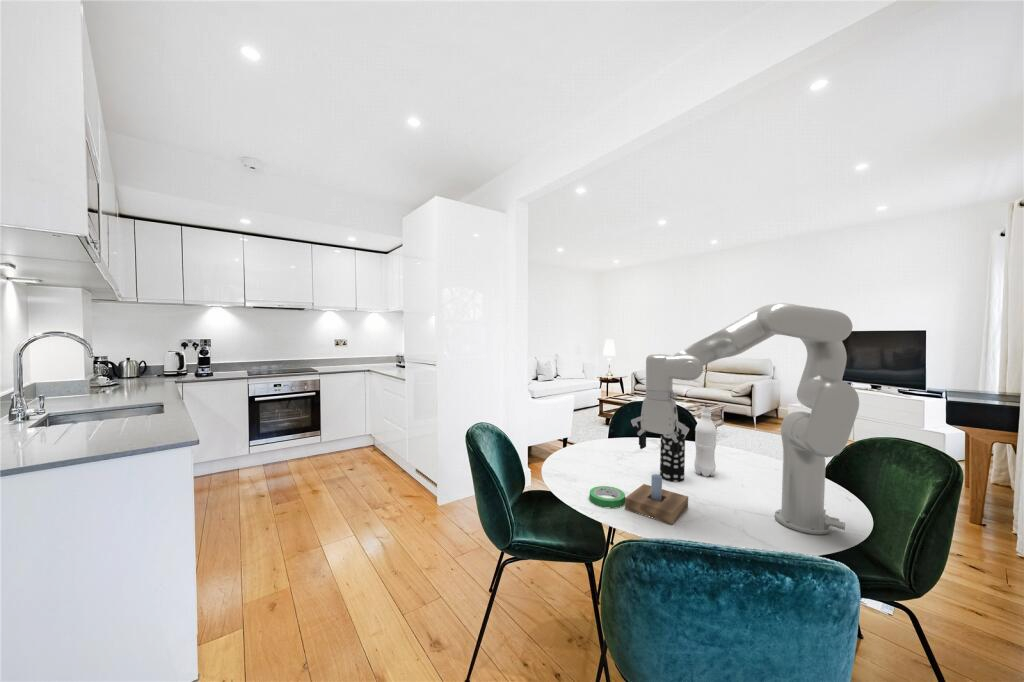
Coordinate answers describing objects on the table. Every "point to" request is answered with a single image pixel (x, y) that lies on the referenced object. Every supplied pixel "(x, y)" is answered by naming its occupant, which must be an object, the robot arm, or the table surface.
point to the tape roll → (607, 501)
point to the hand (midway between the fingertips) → (658, 451)
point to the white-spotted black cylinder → (672, 459)
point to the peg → (656, 487)
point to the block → (657, 504)
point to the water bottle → (705, 444)
